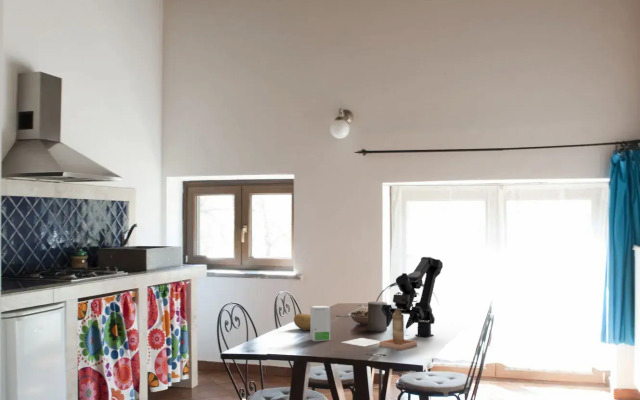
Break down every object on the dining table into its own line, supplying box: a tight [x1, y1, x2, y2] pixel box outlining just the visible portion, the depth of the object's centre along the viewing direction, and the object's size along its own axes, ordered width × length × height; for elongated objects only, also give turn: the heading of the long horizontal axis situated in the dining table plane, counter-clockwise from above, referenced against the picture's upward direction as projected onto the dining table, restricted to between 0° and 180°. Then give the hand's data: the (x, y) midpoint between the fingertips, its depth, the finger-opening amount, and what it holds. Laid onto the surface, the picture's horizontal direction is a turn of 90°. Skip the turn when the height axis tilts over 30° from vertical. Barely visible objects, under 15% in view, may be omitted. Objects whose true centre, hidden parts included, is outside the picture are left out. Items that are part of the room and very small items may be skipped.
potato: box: [293, 313, 311, 331], centre depth 327 cm, size 10×14×8 cm
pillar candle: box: [367, 301, 388, 333], centre depth 325 cm, size 10×10×15 cm
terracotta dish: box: [379, 338, 418, 351], centre depth 283 cm, size 12×12×2 cm
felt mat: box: [341, 337, 382, 348], centre depth 292 cm, size 14×14×1 cm
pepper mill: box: [391, 309, 405, 345], centre depth 283 cm, size 5×5×15 cm
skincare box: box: [309, 305, 331, 342], centre depth 300 cm, size 8×7×16 cm
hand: (396, 327), depth 282 cm, fingers open, 9 cm apart
